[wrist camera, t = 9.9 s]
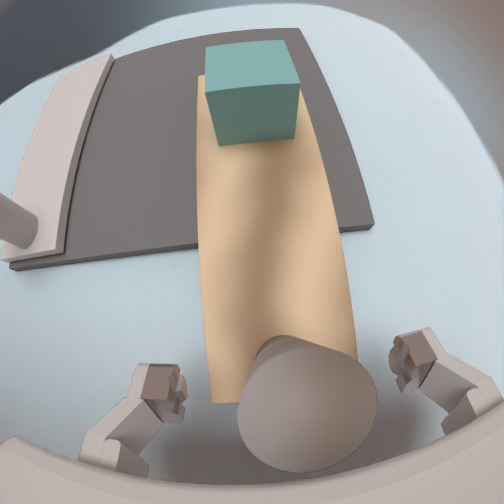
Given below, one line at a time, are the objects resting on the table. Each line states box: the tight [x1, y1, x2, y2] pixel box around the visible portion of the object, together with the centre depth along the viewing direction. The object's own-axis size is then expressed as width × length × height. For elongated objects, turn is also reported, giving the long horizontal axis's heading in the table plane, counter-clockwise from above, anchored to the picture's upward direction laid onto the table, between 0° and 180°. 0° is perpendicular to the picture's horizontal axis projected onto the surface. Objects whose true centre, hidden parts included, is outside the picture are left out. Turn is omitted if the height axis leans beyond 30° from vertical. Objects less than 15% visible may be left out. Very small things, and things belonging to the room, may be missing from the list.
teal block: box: [205, 40, 301, 147], centre depth 15 cm, size 5×5×5 cm
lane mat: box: [9, 28, 375, 271], centre depth 21 cm, size 30×25×1 cm
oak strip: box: [196, 75, 377, 473], centre depth 12 cm, size 8×24×10 cm, turn 6°
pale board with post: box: [0, 54, 114, 262], centre depth 15 cm, size 8×24×10 cm, turn 6°
